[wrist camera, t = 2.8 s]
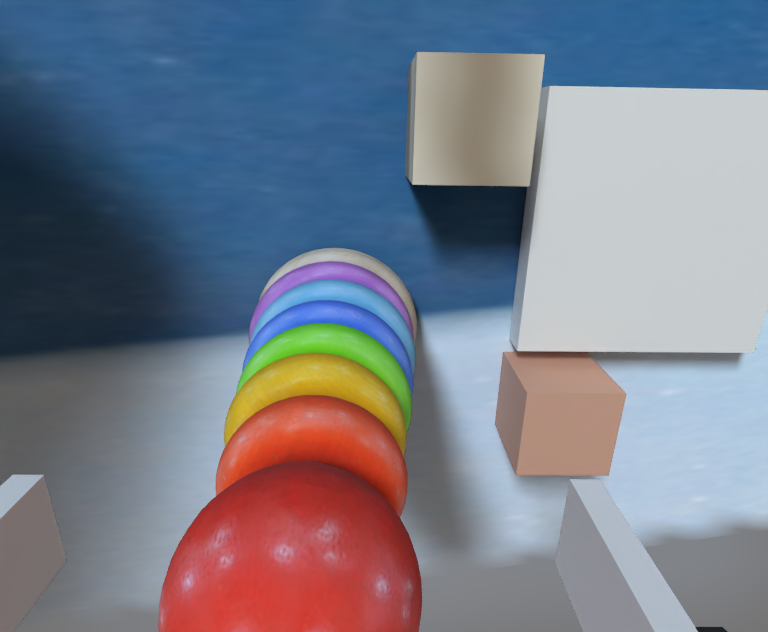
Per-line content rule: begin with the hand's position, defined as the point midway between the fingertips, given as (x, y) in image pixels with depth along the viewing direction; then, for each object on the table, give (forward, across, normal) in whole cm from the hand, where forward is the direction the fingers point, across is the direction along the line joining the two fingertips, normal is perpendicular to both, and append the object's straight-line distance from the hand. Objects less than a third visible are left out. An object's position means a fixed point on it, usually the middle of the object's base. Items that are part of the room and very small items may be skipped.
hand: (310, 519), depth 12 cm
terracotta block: (+14, +11, -4) cm, 18 cm away
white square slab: (+14, +15, +5) cm, 21 cm away
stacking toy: (+14, 0, 0) cm, 14 cm away
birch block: (+14, +5, +10) cm, 18 cm away
